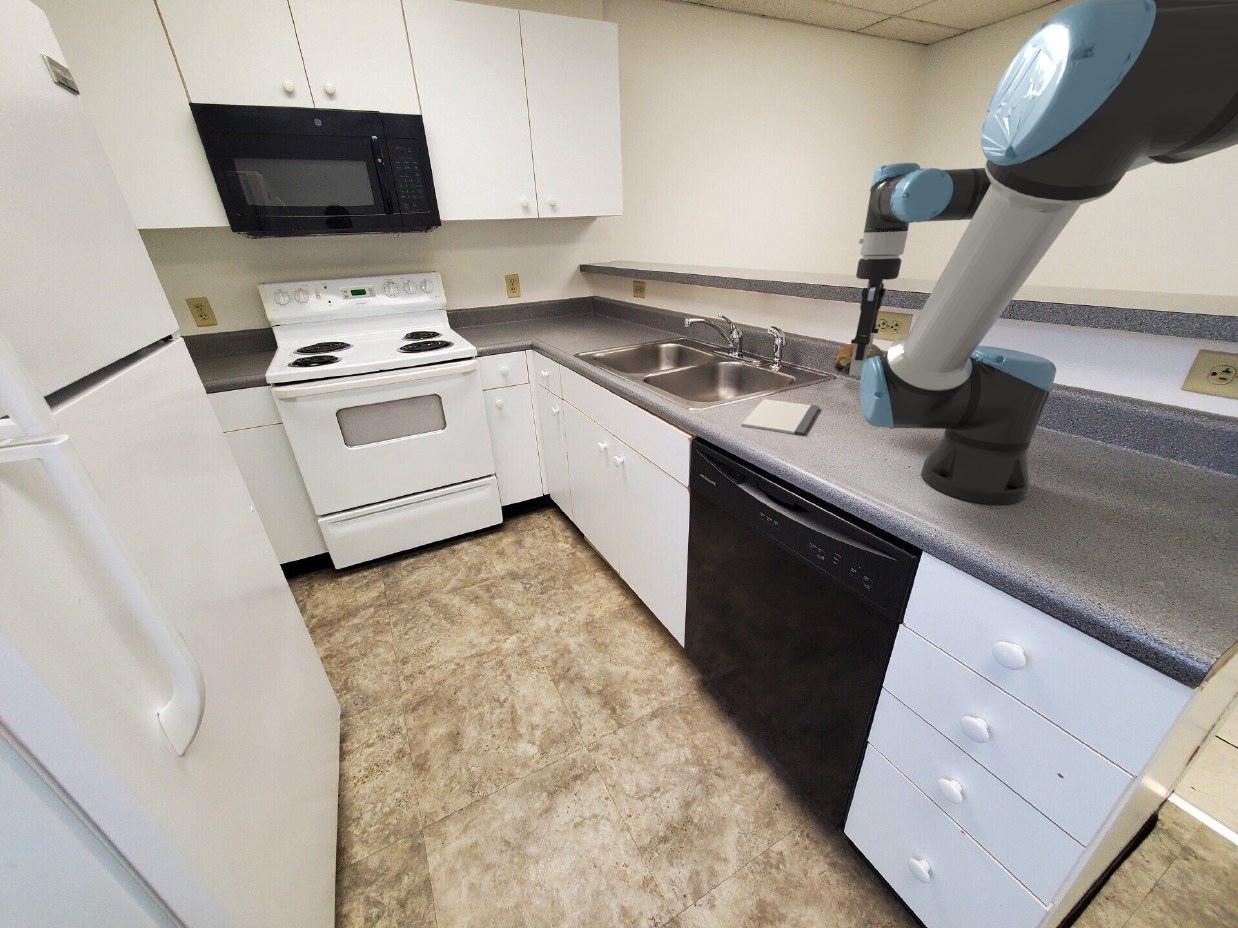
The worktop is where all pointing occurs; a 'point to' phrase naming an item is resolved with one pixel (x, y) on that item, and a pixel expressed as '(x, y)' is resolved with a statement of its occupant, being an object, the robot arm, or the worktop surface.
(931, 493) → the worktop surface
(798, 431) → the mat
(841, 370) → the bread roll
